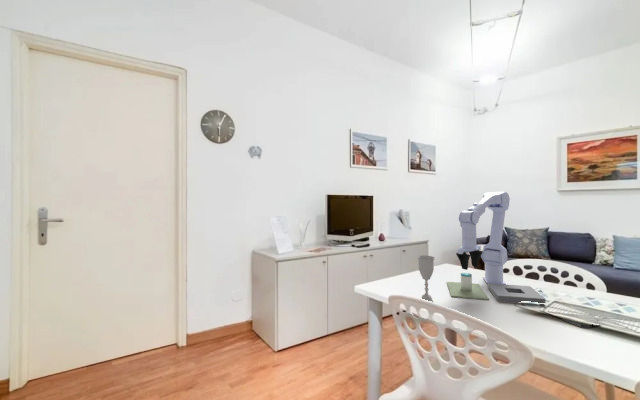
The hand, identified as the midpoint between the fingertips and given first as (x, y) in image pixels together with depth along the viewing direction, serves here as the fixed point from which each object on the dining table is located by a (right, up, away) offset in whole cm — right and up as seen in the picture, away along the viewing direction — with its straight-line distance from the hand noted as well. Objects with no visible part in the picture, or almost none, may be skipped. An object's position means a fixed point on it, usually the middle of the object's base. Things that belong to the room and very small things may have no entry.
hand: (469, 267), depth 129 cm
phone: (+19, -11, -29) cm, 36 cm away
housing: (+14, -10, -8) cm, 19 cm away
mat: (-2, -10, 0) cm, 10 cm away
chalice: (-23, -11, -10) cm, 28 cm away
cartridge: (-2, -10, 0) cm, 10 cm away
